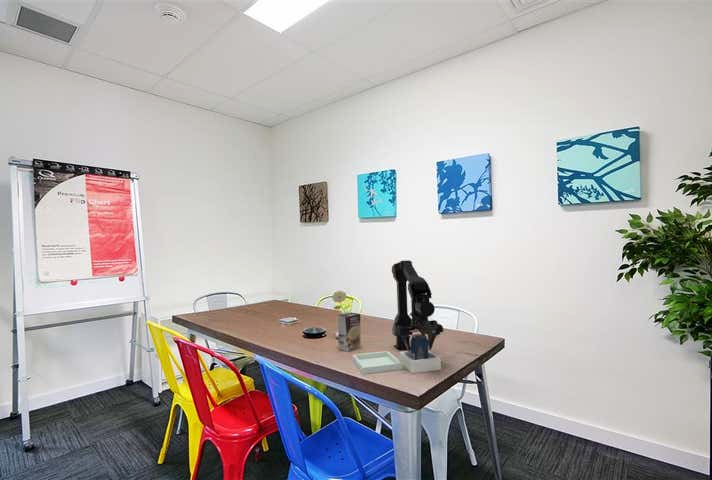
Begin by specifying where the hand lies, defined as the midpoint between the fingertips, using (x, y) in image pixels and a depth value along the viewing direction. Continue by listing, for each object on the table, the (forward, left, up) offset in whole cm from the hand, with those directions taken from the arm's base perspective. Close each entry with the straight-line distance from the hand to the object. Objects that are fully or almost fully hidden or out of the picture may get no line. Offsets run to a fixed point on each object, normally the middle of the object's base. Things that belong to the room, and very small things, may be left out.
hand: (419, 350), depth 136 cm
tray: (-7, -16, -6) cm, 18 cm away
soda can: (0, 0, -6) cm, 6 cm away
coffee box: (-32, -21, -6) cm, 39 cm away
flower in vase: (-51, -19, -6) cm, 55 cm away
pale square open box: (0, 0, -6) cm, 6 cm away
